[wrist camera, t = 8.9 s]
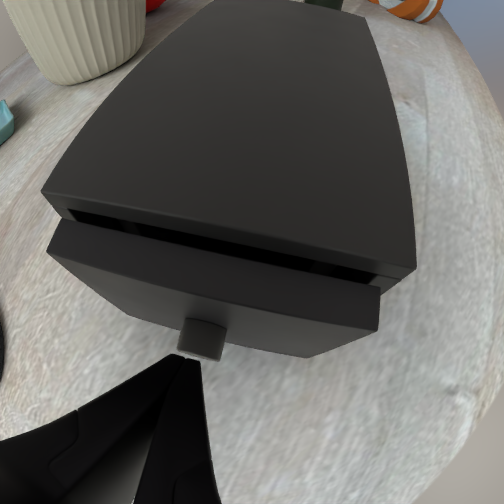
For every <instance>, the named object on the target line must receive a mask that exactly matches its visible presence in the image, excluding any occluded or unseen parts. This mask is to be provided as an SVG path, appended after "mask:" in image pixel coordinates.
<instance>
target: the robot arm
mask: <svg viewBox="0 0 504 504" xmlns="http://www.w3.org/2000/svg"><path fill="white" fill-rule="evenodd" d="M211 458H212V457H211V450H210V443H209V436H208V428H207V420H206V411H205V403H204V393H203V384H202V373H201V363H200V361H197V360H194V359H190V358H186V359H185V358H184V357H183V356H179V355H176V354H169V355H168V356H166V357H164V358H163V359H161V360H160V361H158V362H156V363H155V364H153V365H151V366H150V367H148V368H146V369H145V370H143V371H141V372H140V373H138V374H136V375H135V376H133V377H131V378H130V379H128V380H126V381H125V382H123V383H121V384H120V385H118V386H116V387H114V388H113V389H111V390H109V391H108V392H106V393H104V394H102V395H101V396H99V397H97V398H95V399H94V400H92V401H90V402H88V403H87V404H85V405H83V406H81V407H79V408H78V411H77V410H74V411H72V412H70V413H68V414H66V415H65V416H63V417H61V418H59V419H57V420H55V421H53V422H51V423H48V424H46V425H44V426H41V427H39V428H36V429H34V430H31V431H28V432H26V433H23V434H20V435H17V436H14V437H11V438H8V439H5V440H2V441H0V504H131V503H132V501H133V499H134V497H135V499H134V502H133V504H222V503H221V500H220V497H219V493H218V490H217V485H216V480H215V475H214V470H213V463H212V460H211Z"/></svg>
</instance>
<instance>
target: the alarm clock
mask: <svg viewBox="0 0 504 504" xmlns="http://www.w3.org/2000/svg"><path fill="white" fill-rule="evenodd" d="M369 1H370V2H372V3H376V4H380V5H382V6H384V7H386V8H388V10H387V11H389V12H391V13H392V14H394V15H396V16H398V17H400V18H404V19H408V20H412V19H413V20H414V21H416V22H419V23H425V22H428V21H429V20H431V19H432V18H434V17H435V15H436V14H437V13H438V11H439V10H440V9H441V6H442V3H443V0H369Z"/></svg>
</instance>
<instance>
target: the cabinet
mask: <svg viewBox="0 0 504 504" xmlns="http://www.w3.org/2000/svg"><path fill="white" fill-rule="evenodd" d="M41 193H42V194H43V196H44V197H45V198H46V199H47V200H48V202H49V203H50V204H51V205H52V207H53V208H54V209H55V210H56V211H57V213H58V214H59V215H60V216H61V217H62V218H64V219H69V220H73V221H77V222H82V223H86V224H91V225H95V226H99V227H104V228H108V229H113V230H117V231H122V232H125V231H124V229H123V227H122V226H121V224H120V223H119V221H118V220H117V219H122V220H127V221H132V222H137V223H141V224H146V225H151V226H156V227H161V228H165V229H170V230H175V231H180V232H185V233H189V234H194V235H199V236H204V237H208V238H213V239H218V240H223V241H227V242H232V243H237V244H241V245H246V246H251V247H256V248H260V249H265V250H270V251H274V252H279V253H284V254H288V255H293V256H298V257H302V258H307V259H312V260H316V261H321V262H325V263H330V264H335V265H337V266H336V268H335V269H334V270H333V271H332V273H331V274H330V275H329V277H334V278H339V279H343V280H348V281H353V282H358V283H363V284H368V285H372V286H377V287H380V288H381V295H382V294H383V293H385V292H386V291H388V290H389V289H390V288H392V287H393V286H395V285H396V284H397V283H399V282H400V281H401V280H402V279H404V278H405V277H406V276H408V275H409V274H410V273H412V272H413V271H414V270H416V267H417V261H416V241H415V227H414V216H413V207H412V198H411V190H410V183H409V176H408V170H407V164H406V158H405V153H404V147H403V142H402V137H401V133H400V128H399V124H398V119H397V115H396V111H395V107H394V103H393V100H392V96H391V92H390V89H389V85H388V82H387V78H386V75H385V72H384V69H383V66H382V63H381V60H380V57H379V54H378V51H377V48H376V45H375V43H374V40H373V37H372V35H371V32H370V30H369V27H368V25H367V22H366V20H365V18H364V17H361V16H357V15H354V14H350V13H347V12H343V11H339V10H335V9H331V8H327V7H322V6H317V5H312V4H307V3H302V2H296V1H289V0H214V1H212V2H211V3H210V4H208V5H207V6H205V7H204V8H203V9H201V10H200V11H199V12H197V13H196V14H195V15H193V16H192V17H191V18H190V19H188V20H187V21H186V22H185V23H183V24H182V25H181V26H180V27H178V28H177V29H176V30H175V31H174V32H172V33H171V34H170V35H169V36H168V37H167V38H165V39H164V40H163V41H162V42H161V43H160V44H159V45H158V46H156V47H155V48H154V49H153V50H152V51H151V52H150V53H149V54H148V55H147V56H146V57H145V58H144V59H143V60H142V61H141V62H140V63H139V64H138V65H137V66H136V67H135V68H134V69H133V70H132V71H131V72H130V73H129V74H128V75H127V76H126V77H125V78H124V79H123V80H122V81H121V82H120V83H119V84H118V86H117V87H116V88H115V89H114V90H113V91H112V92H111V93H110V95H109V96H108V97H107V98H106V99H105V100H104V101H103V103H102V104H101V105H100V106H99V107H98V109H97V110H96V111H95V112H94V114H93V115H92V116H91V117H90V119H89V120H88V121H87V122H86V124H85V125H84V126H83V128H82V129H81V130H80V132H79V133H78V134H77V136H76V137H75V138H74V140H73V141H72V143H71V144H70V146H69V147H68V148H67V150H66V151H65V153H64V154H63V156H62V157H61V159H60V160H59V162H58V163H57V165H56V166H55V168H54V170H53V171H52V173H51V174H50V176H49V178H48V179H47V181H46V183H45V184H44V186H43V188H42V189H41Z"/></svg>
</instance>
